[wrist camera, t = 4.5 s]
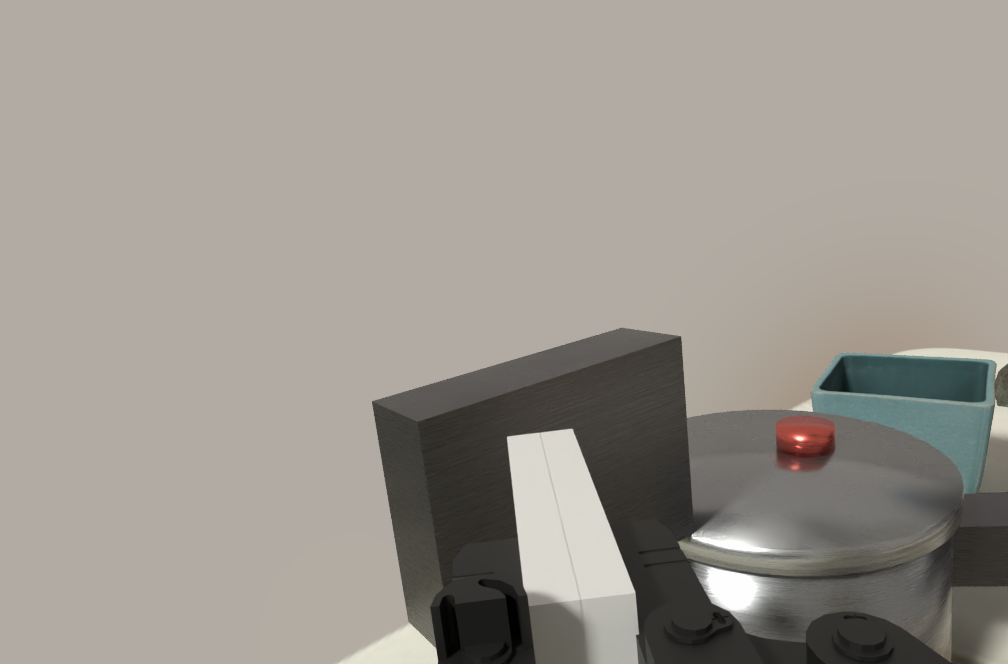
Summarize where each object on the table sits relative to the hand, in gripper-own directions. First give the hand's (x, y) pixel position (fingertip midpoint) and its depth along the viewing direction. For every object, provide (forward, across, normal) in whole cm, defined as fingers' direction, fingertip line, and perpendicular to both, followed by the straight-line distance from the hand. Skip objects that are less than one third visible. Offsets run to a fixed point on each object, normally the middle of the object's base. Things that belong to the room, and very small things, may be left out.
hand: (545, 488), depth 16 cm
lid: (+10, -6, +7) cm, 14 cm away
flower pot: (+24, -23, +16) cm, 37 cm away
